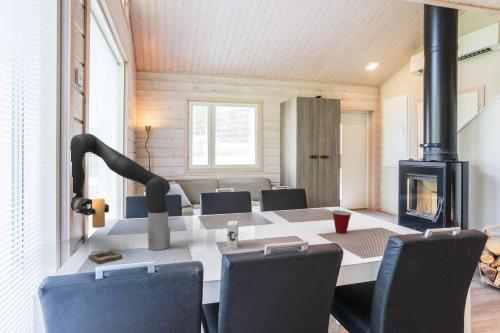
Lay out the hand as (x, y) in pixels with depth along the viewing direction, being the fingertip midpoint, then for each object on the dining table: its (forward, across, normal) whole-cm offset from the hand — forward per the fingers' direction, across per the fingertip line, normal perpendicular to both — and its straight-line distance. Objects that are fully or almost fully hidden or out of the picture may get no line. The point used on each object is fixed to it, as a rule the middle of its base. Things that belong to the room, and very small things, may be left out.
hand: (101, 210), depth 139 cm
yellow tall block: (-3, 0, +7) cm, 8 cm away
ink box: (+33, +48, +20) cm, 62 cm away
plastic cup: (+59, +109, +19) cm, 126 cm away
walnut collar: (+5, 0, +20) cm, 20 cm away
